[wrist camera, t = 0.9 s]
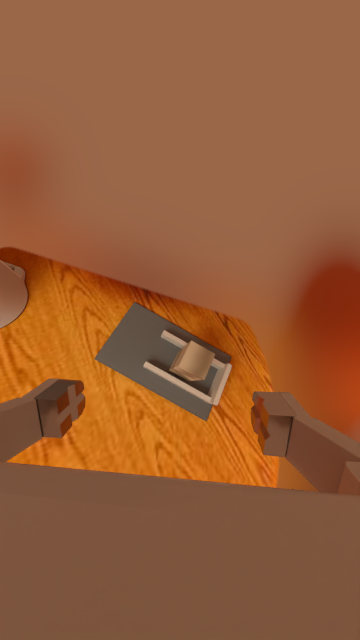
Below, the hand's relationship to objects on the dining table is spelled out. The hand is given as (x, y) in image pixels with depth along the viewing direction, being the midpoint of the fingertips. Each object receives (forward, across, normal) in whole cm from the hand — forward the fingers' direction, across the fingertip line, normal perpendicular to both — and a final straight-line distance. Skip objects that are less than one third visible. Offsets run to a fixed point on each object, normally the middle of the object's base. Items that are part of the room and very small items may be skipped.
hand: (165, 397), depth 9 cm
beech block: (+32, +1, +15) cm, 36 cm away
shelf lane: (+33, +4, +13) cm, 36 cm away
